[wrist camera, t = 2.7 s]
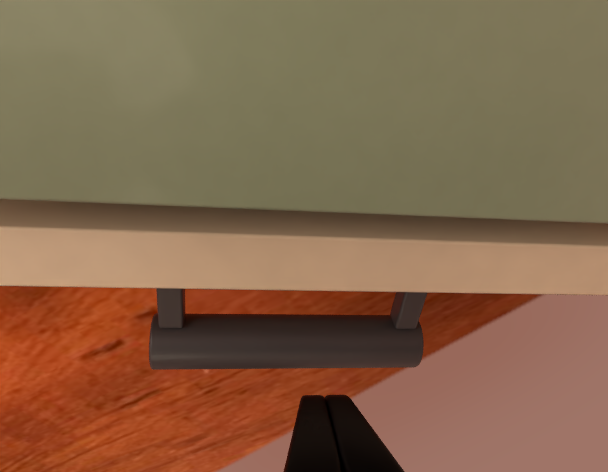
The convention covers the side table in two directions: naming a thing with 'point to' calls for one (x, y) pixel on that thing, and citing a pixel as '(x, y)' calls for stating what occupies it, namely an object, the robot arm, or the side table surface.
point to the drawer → (292, 272)
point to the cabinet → (309, 105)
